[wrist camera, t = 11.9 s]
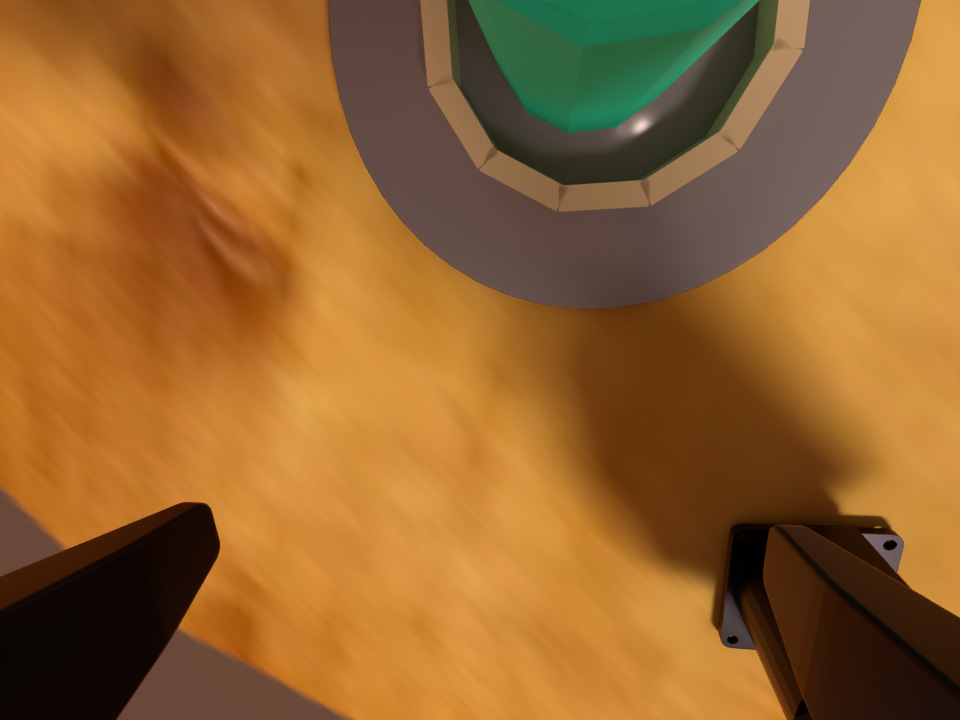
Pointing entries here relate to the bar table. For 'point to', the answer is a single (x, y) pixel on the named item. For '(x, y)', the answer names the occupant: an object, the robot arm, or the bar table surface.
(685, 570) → the bar table surface
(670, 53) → the candle
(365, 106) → the candle holder
